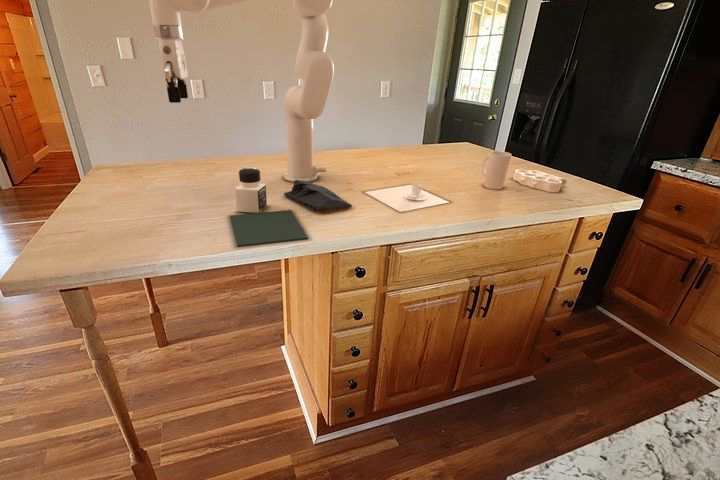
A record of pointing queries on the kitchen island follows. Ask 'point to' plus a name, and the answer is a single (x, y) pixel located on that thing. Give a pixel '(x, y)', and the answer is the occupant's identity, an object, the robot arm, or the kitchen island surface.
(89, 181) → the kitchen island surface
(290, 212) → the mat
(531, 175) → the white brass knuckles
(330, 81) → the robot arm
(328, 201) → the black fabric pouch
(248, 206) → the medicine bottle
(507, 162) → the mug
